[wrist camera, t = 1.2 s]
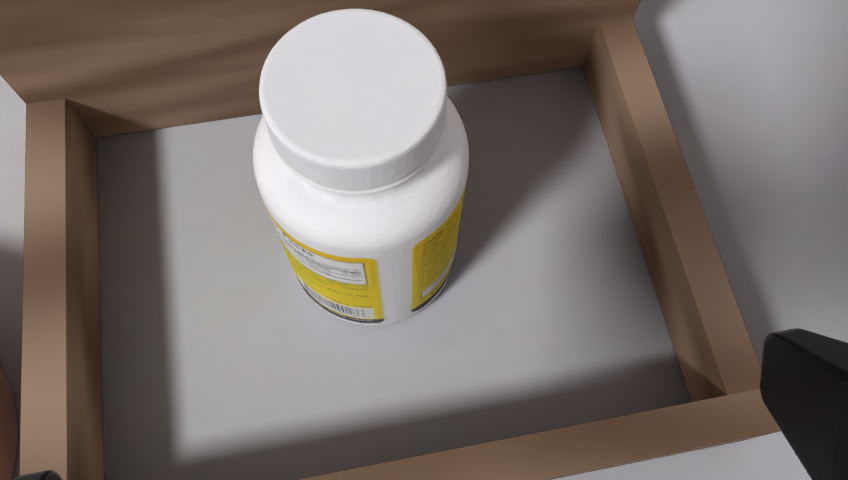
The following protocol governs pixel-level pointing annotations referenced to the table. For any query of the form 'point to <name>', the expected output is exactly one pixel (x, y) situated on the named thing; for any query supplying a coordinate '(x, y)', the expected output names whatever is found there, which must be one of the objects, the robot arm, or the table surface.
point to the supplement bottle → (362, 163)
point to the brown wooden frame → (239, 96)
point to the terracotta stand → (7, 429)
